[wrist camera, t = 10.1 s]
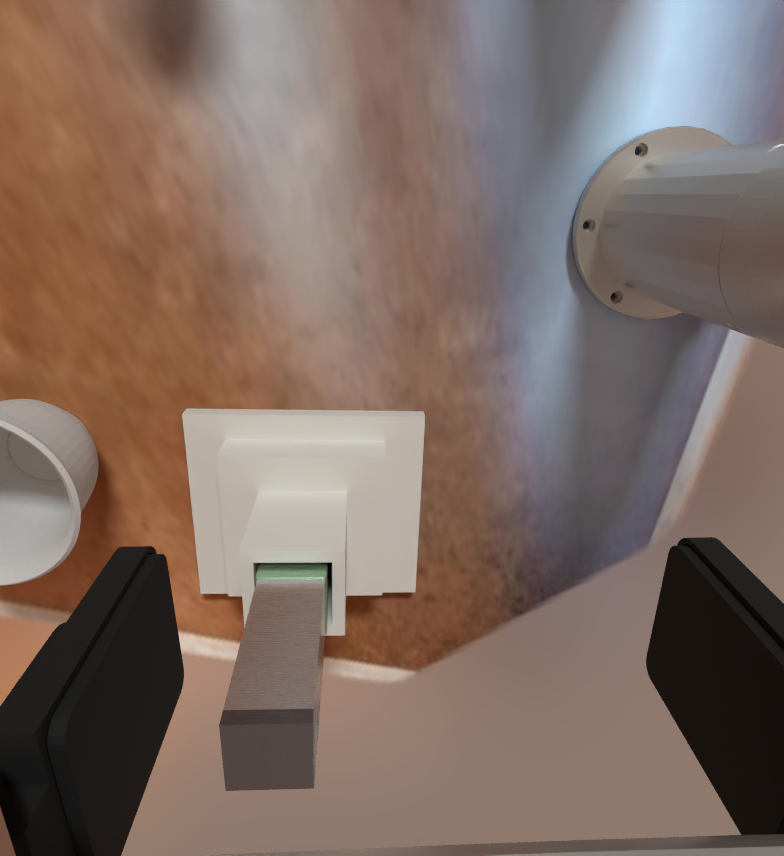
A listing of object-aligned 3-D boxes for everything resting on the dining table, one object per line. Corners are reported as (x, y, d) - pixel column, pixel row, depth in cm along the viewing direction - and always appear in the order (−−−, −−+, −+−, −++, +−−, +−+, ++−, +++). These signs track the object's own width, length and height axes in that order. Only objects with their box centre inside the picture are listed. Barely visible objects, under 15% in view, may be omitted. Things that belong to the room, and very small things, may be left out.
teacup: (-71, 486, 46) (-179, 561, 37) (10, 332, 42) (-88, 372, 33) (75, 561, 49) (10, 646, 40) (163, 424, 45) (114, 483, 36)
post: (330, 522, 41) (314, 721, 26) (331, 573, 43) (316, 790, 27) (269, 522, 41) (216, 723, 26) (272, 573, 43) (223, 792, 27)
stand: (423, 411, 46) (446, 487, 34) (413, 583, 52) (430, 699, 40) (186, 408, 45) (124, 486, 33) (204, 585, 51) (157, 704, 39)
